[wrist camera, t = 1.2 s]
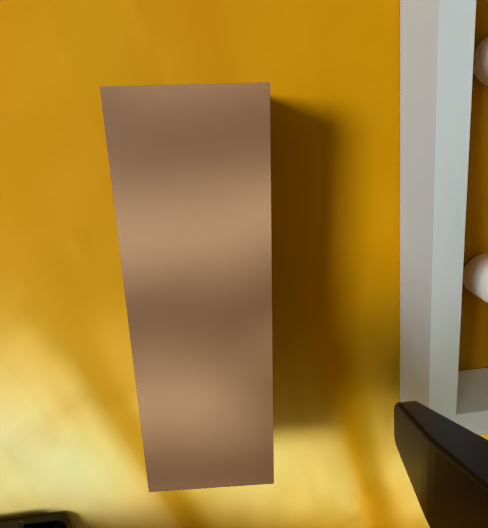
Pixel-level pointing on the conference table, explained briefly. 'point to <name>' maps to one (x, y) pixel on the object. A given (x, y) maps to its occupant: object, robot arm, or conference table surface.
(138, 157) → the brown block
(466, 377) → the peg frame
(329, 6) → the conference table surface
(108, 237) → the conference table surface
